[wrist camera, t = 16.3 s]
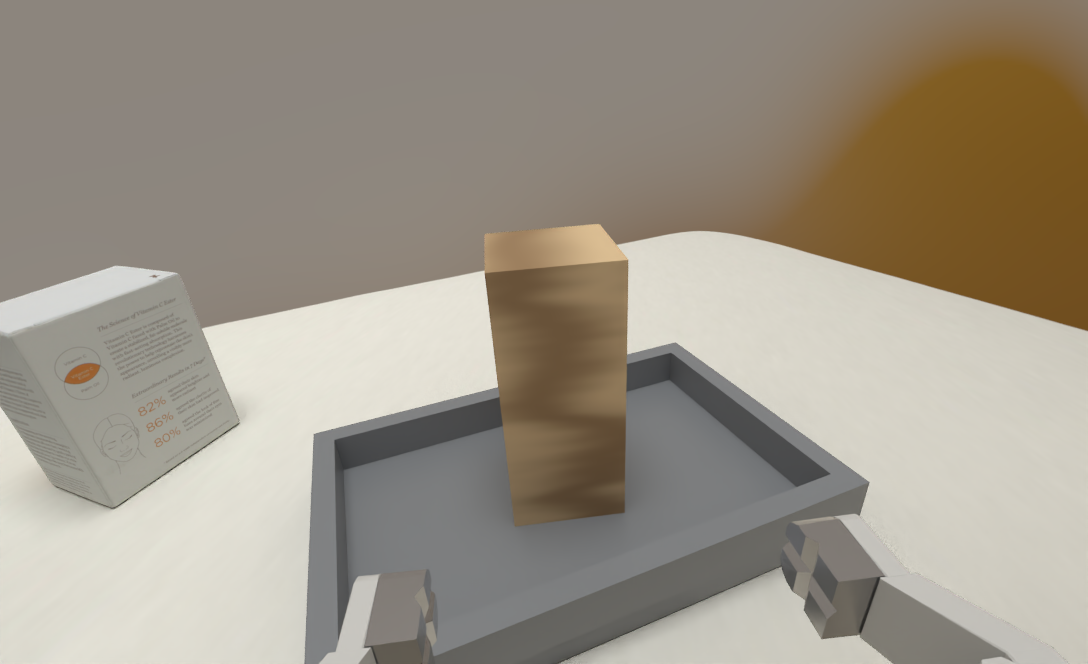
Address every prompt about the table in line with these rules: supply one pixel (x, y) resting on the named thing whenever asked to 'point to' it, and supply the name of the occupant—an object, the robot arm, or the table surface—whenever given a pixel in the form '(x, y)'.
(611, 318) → the oak block
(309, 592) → the tray
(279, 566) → the table surface
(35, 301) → the small box
